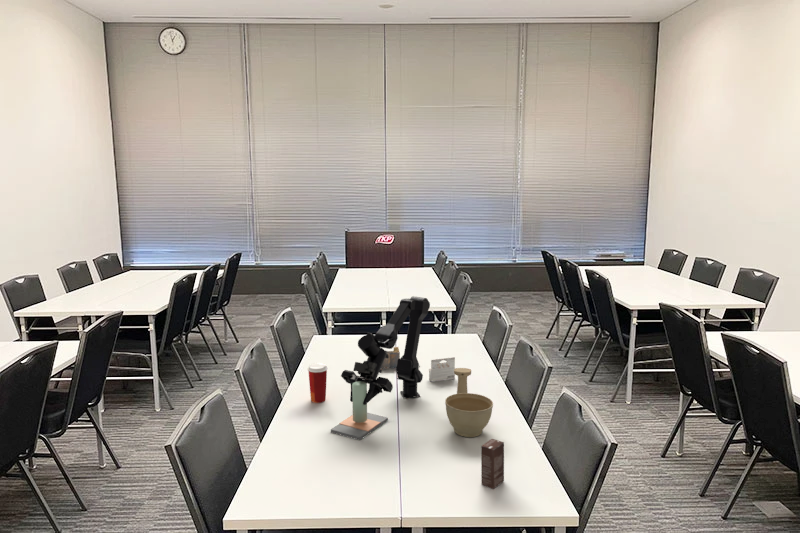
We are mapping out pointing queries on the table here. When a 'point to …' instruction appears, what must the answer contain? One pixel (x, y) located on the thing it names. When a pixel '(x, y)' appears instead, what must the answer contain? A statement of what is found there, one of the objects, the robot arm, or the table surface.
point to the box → (492, 463)
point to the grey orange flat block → (359, 426)
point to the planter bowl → (468, 413)
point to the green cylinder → (359, 401)
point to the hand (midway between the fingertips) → (357, 402)
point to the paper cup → (317, 382)
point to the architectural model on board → (391, 359)
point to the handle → (462, 379)
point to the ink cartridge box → (442, 369)
